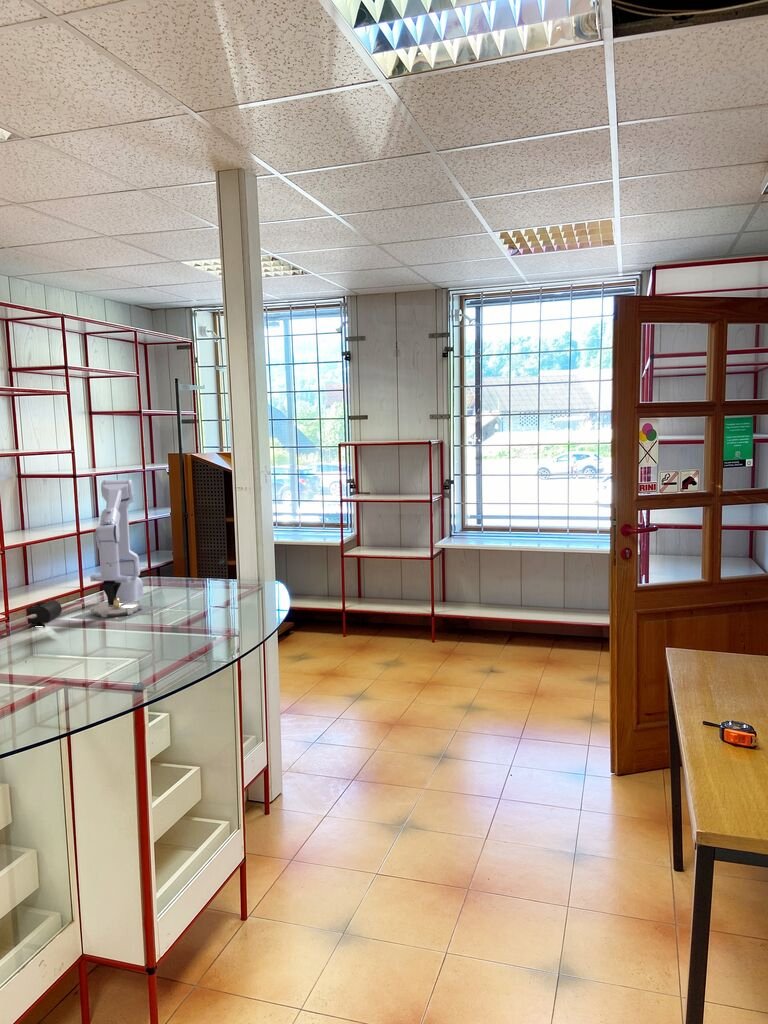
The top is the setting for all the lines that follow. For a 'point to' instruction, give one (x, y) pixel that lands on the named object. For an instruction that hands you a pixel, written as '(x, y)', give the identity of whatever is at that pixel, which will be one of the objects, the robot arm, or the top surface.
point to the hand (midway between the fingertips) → (112, 604)
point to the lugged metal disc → (116, 608)
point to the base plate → (115, 618)
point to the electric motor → (43, 612)
